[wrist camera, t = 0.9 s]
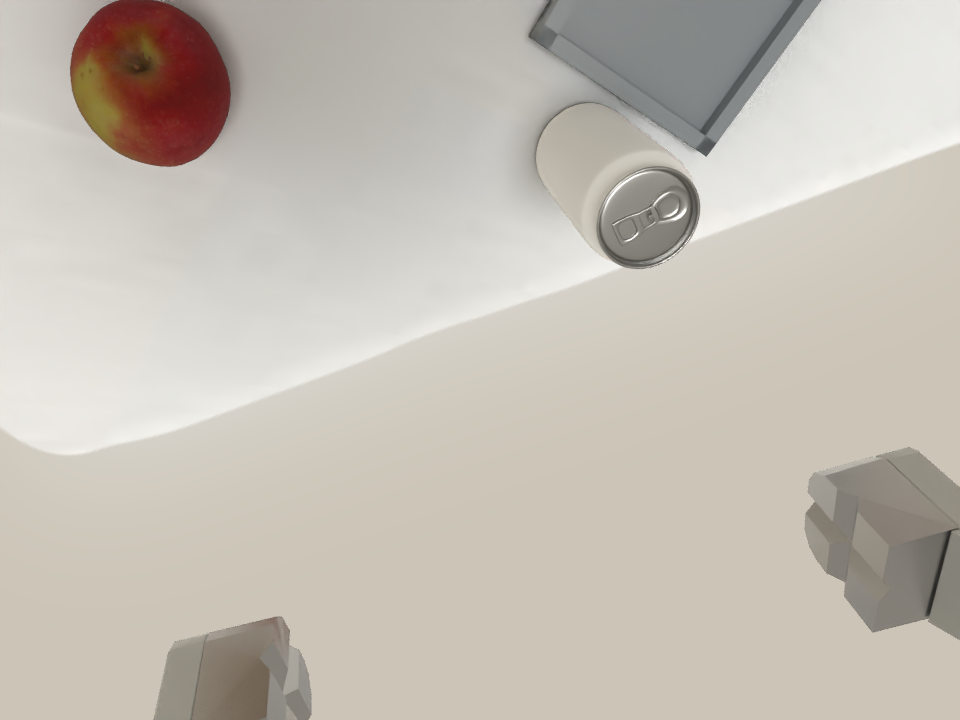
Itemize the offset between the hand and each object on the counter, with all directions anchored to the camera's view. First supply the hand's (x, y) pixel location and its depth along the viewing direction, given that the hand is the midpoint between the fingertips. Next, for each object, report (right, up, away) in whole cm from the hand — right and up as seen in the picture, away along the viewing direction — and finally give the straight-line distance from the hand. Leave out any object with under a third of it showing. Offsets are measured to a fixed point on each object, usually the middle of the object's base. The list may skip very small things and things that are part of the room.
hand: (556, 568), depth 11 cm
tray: (+12, +26, +32) cm, 43 cm away
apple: (-19, +20, +30) cm, 40 cm away
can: (+6, +17, +37) cm, 41 cm away
